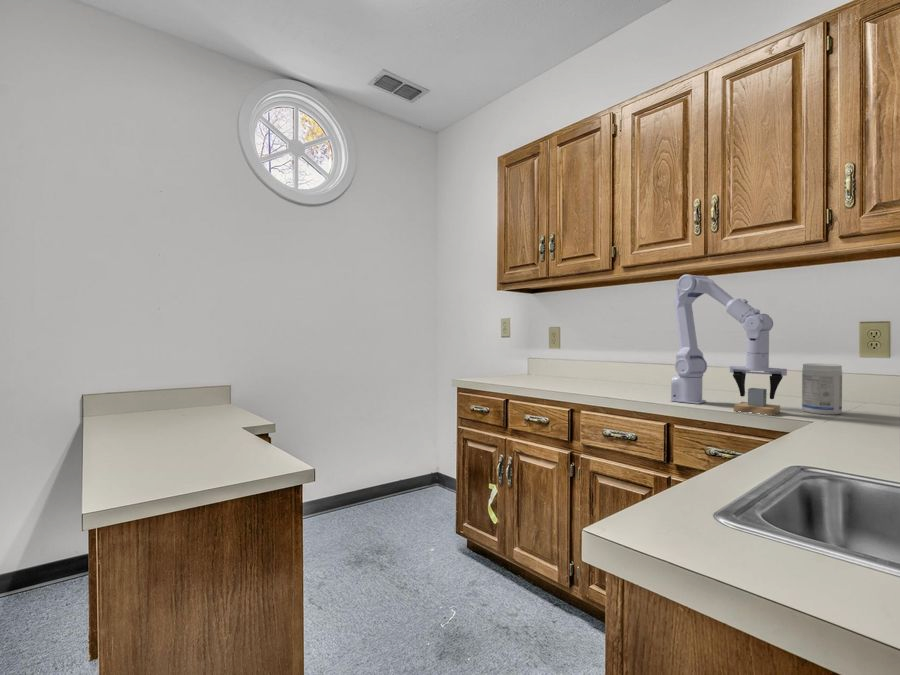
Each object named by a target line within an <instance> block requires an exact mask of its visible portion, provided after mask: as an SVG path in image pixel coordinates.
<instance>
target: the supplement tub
mask: <svg viewBox="0 0 900 675" xmlns="http://www.w3.org/2000/svg"><path fill="white" fill-rule="evenodd" d="M801 375H802V376H801V378H802V379H801V381H802V382H801V383H802V384H801V385H802V387H801V390H802V391H801V408H802V409H801V410H802V411H804V412H805V413H810V414H817V415H827V416H828V415H829V416H830V415H831V416H834V415H835V416H836V415H837V416H838V415H840V414H841V413H842V412H843V370H842V365H841V364H835V363H834V364H833V363H813V362H812V363H803V364H802V372H801Z"/></svg>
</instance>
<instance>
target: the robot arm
mask: <svg viewBox="0 0 900 675" xmlns="http://www.w3.org/2000/svg"><path fill="white" fill-rule="evenodd" d="M675 288H676V290H675V294H674V298H673V304H674V305H673V306H674V312H675V313H674V314H675V320H676V328H677V336H678V342H679V351H678V352H677V353H676V354H675V363H674V369H675V372H676V373H677V374H678V375H673V376H672V378H671V381H670V382H671V383H670V400H669V401H670V402H679V403H686V404H687V403H688V404H697V405H700V404H703V403H705V402H707V400H706V399H703V377H704V373H706V372H707V370H708V363H707V361H706V359H705V357H704V353H703V352H702V351H701V350H700V349H699V348H698V346H699V345H698V342H697V334H696V325H695V318H694V312H693V311H694V310H693V303H694V302H695V301H696V300H697V299H698V298H700V297H702V295H704V294H707V295H708V296H710V297H711V298H713V299H714V300H715V301H716V302H718V303H720V304H722V305H723V306H724V307H725V311H726V313H727V314H728V315H730V316H731V317H732V318H734V319H735V320H736V321H737V322H738V323H739V324H741V325H742V328H743V330H744V331H745V335H746V365H745V366H739V365H738V366H736V365H735V366H734V365H731V366H729V373H733V374H732V377H733V379H734V380H735V382H736V385H737V387H738V390H739V394H740V395H739V396H740V397H743V398H744V397H745V395H746V388H745V385H746V375H747V374H751V375H754V374H755V375H769V388H770V389H769V399H770V400H774V399H775V395H776V393H777V392H776V391H777V389H778V387H779V385H780V382H781V381H782V379H783V377H785V376H787V375H788V369H787V368H781V367H780V368H776V367H770V366H769V364H770V363H769V362H770V360H769V359H770V357H769V356H770V331H771V330H772V329H773V327H774V321H773V318H772V317H771V316H770V315H769V314H767V313H761V310H759V309H758V308H754V307H753V306H751V305H750V304H749V303H748V302H749V301H748V300H747V299H745V298H734V297H733V296H731V295H730V294H729V293H728V292H726V291H725V290H724V289H723V288H721V287H720V286H719V285H718V284H717V283H715V281H714V280H713V279H710V278H709V277H708V276H707V275H694V274H688V273H687V274H683V275H681V276H680V277H679V279H678V280H676V282H675Z"/></svg>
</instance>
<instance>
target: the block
mask: <svg viewBox="0 0 900 675" xmlns="http://www.w3.org/2000/svg"><path fill="white" fill-rule="evenodd" d="M767 393H768V392H767V388H756V387H750V388H748V389H747V402H748V405H751V406H760V407H764V406H766V404H767Z"/></svg>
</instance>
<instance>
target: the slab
mask: <svg viewBox="0 0 900 675" xmlns="http://www.w3.org/2000/svg"><path fill="white" fill-rule="evenodd" d="M734 411H741V412H752V413H760V414H767V415H774V414H775V415H777V414H779V413H781V405H779V404H771V403H770V404H768V403H766V406H764V407H760V406H751V405H748V401H741V402H738V403H735V404H733V412H734ZM741 412H740V413H741ZM778 412H779V413H778ZM776 413H777V414H776ZM767 415H766V416H767ZM775 415H774V416H775Z"/></svg>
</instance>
